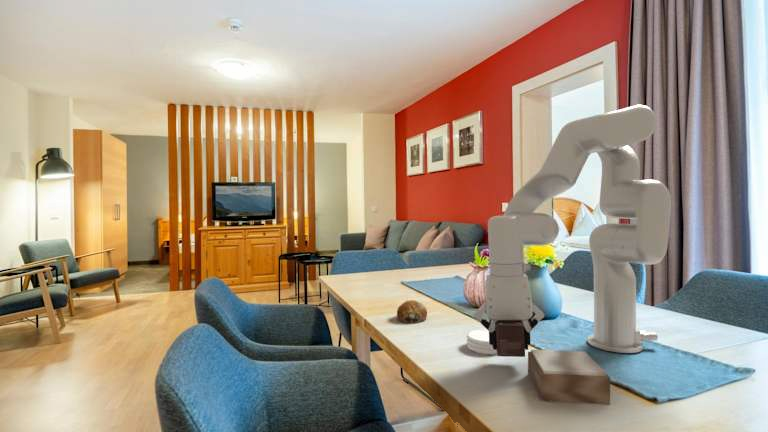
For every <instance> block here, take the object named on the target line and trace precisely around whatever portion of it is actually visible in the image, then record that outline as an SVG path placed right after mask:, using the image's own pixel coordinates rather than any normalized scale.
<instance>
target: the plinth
mask: <svg viewBox="0 0 768 432" xmlns="http://www.w3.org/2000/svg"><path fill="white" fill-rule="evenodd" d="M527 375H528V377H529V378H530V381H531V383H532V385H533V387H534V388H535V390H536V392H537V395H538V396H539V399H541V401H542V402H555V403H556V402H558V403H574V404H596V405H597V404H599V405H611V377H610V376H609V375H608V373H607V372H606V371H605V370H604V369H603V368H602V366H600V365H599V364H598V363H597V362H596V361H595V360H594V359H593V358H592V357H591V356H590V355H589V354H588V353H587V352H586V351H585V350H584V351H583V350H581V351H579V350H578V351H577V350H576V351H575V350H553V349H552V350H547V349H530V351H527Z"/></svg>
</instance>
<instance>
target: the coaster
mask: <svg viewBox="0 0 768 432" xmlns="http://www.w3.org/2000/svg"><path fill="white" fill-rule="evenodd" d="M466 347H467V348H468V349H469V350H470V351H471V352H473V353H477V354H480V355H489V356H490V355H491V356H493V355H498V354H497V350H494V349H493V346H492V345H490V344H489V331H488V330H487V329H475V330H471V331H470V332H468V333H467V335H466Z"/></svg>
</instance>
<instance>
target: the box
mask: <svg viewBox="0 0 768 432" xmlns="http://www.w3.org/2000/svg"><path fill="white" fill-rule="evenodd" d="M495 331H496V340H497V349H496V350H497V354H496V355H497V356H498V357H505V358H506V357H508V358H509V357H512V358H513V357H515V358H516V357H517V358H525V357H526V349H525V340H524V324H523V322H522V321H521V320H515V321H497V323H496V326H495Z"/></svg>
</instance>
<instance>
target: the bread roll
mask: <svg viewBox="0 0 768 432" xmlns="http://www.w3.org/2000/svg"><path fill="white" fill-rule="evenodd" d="M427 317H428V310H427V308H426V306H425V305H424V304H423V303H422V302H419V301H417V300H414V299H411V300H406V301H404V302H403V303H401V305H399V306H398V308H397V311H396V318H397V320H398V321H399V322H401V323H406V324H416V323H421V322H425V321H426V320H427Z"/></svg>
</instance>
